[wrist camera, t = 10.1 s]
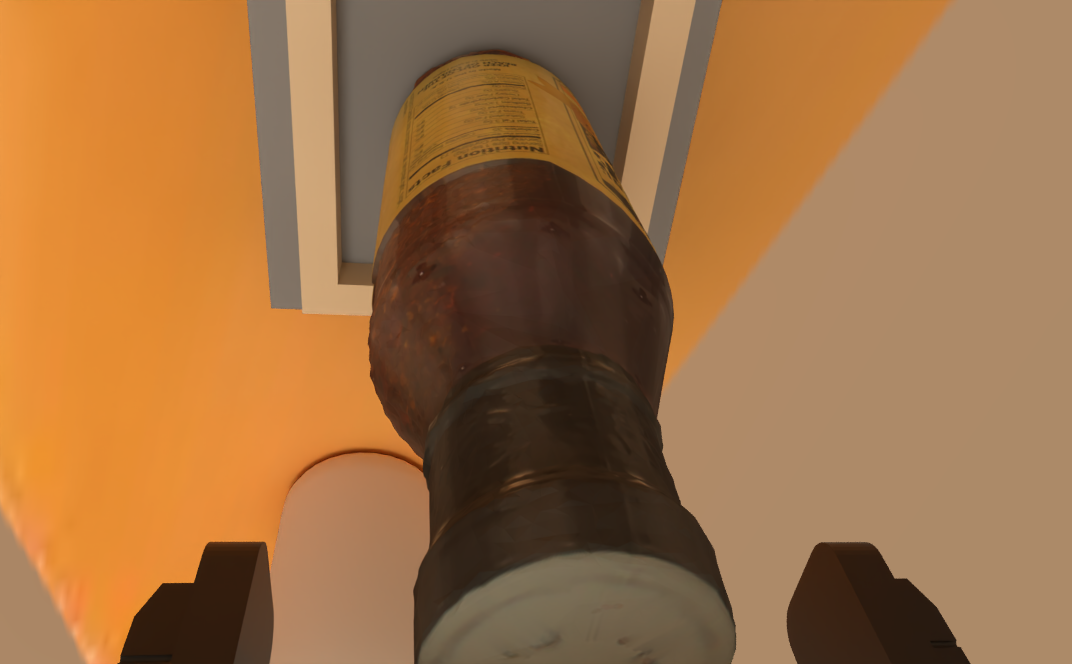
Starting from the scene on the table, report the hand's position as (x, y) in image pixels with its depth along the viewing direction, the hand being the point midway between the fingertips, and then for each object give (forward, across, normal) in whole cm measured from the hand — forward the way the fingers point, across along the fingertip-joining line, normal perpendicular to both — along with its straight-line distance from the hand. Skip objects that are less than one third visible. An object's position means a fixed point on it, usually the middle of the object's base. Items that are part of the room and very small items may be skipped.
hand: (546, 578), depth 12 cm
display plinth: (+22, 0, 0) cm, 22 cm away
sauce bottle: (+18, 0, 0) cm, 18 cm away
